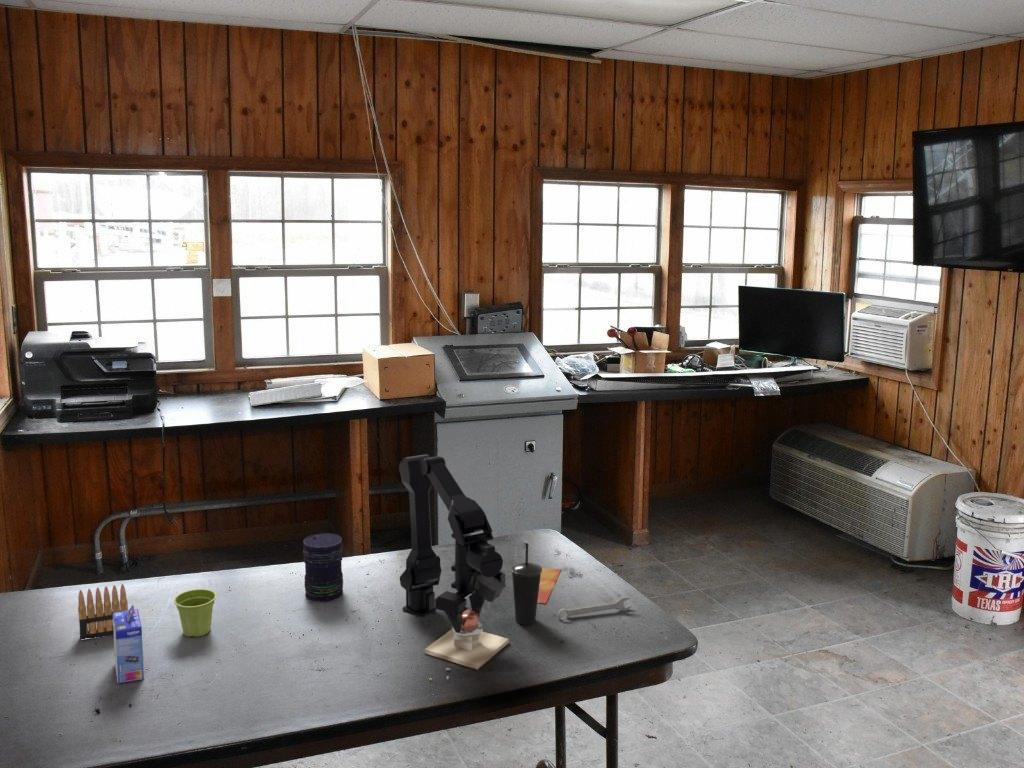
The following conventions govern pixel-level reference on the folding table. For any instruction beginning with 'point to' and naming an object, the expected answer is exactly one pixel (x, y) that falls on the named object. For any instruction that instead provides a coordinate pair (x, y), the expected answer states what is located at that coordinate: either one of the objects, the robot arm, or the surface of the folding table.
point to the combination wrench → (596, 608)
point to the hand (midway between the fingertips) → (467, 625)
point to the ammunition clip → (100, 612)
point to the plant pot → (195, 611)
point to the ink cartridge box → (128, 646)
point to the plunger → (469, 624)
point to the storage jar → (323, 567)
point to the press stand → (467, 648)
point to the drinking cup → (526, 589)
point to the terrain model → (547, 583)
